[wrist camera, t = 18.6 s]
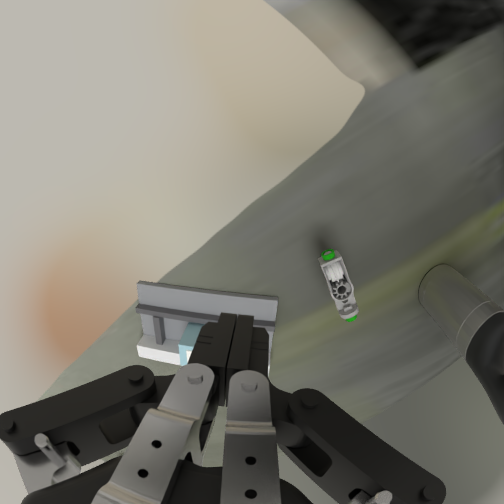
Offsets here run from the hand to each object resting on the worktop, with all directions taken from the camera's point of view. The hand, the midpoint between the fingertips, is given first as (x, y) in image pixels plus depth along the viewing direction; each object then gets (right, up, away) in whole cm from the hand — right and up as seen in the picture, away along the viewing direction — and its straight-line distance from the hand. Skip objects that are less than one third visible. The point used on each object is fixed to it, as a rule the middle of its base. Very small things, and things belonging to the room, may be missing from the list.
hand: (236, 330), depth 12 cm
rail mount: (-8, -10, +35) cm, 37 cm away
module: (-8, -10, +34) cm, 36 cm away
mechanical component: (+12, +2, +29) cm, 32 cm away
